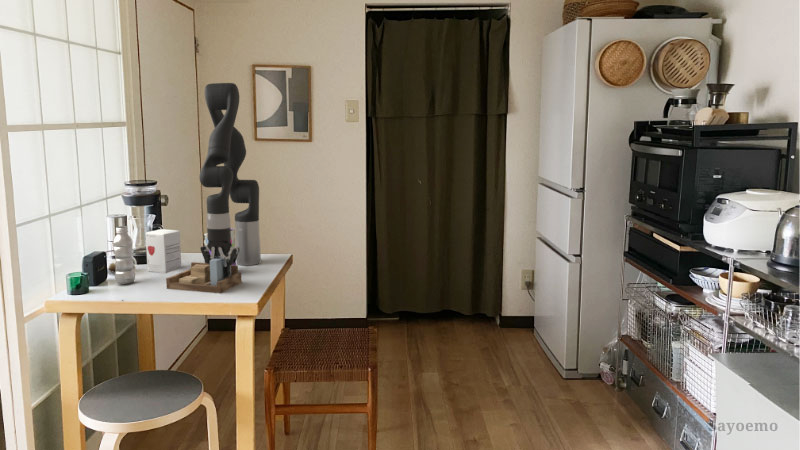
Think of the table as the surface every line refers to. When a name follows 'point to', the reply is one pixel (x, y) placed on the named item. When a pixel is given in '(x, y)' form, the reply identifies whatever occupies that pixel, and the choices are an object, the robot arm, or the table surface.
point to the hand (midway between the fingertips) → (220, 276)
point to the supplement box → (163, 250)
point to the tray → (207, 287)
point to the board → (217, 271)
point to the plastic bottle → (123, 256)
